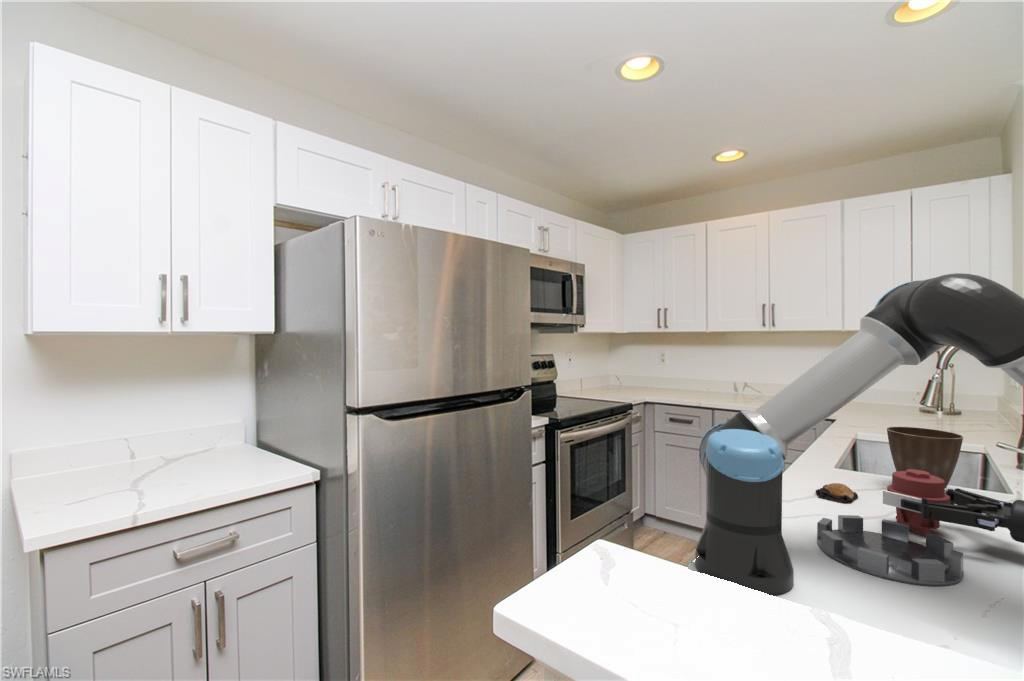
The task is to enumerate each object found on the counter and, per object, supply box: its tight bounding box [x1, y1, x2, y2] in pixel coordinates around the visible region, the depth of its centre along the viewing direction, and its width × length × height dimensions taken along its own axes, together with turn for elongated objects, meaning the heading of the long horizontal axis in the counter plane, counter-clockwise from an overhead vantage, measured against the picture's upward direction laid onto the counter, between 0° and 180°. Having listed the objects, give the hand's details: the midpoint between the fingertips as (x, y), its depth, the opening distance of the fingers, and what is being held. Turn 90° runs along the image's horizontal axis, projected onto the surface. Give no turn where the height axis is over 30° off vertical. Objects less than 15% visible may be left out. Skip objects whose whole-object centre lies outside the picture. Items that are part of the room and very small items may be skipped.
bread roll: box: [815, 482, 859, 505], centre depth 119 cm, size 11×8×4 cm
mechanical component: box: [886, 469, 950, 537], centre depth 98 cm, size 12×10×10 cm
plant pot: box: [886, 426, 964, 490], centre depth 122 cm, size 15×15×16 cm
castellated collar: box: [816, 514, 965, 587], centre depth 86 cm, size 21×21×4 cm
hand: (895, 491), depth 101 cm, fingers open, 12 cm apart
